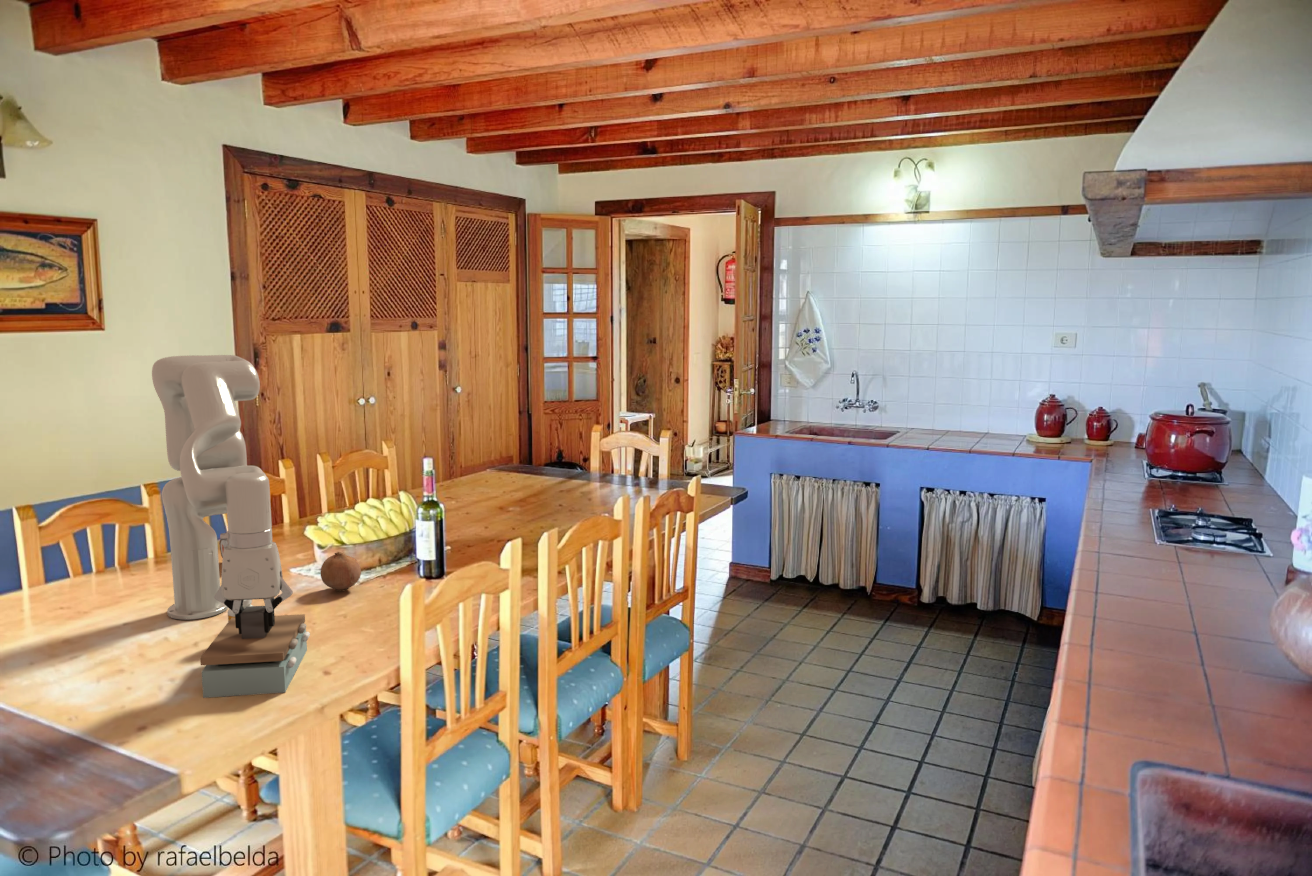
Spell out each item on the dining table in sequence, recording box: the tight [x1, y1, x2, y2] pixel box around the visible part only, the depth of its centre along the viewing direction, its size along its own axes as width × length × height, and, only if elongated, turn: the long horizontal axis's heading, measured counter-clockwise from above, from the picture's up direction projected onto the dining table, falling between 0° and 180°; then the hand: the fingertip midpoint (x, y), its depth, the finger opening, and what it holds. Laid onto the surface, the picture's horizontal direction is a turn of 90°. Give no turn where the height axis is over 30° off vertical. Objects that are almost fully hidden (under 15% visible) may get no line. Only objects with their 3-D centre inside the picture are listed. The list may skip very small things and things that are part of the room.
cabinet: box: [201, 628, 311, 699], centre depth 169 cm, size 20×15×5 cm
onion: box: [320, 551, 362, 592], centre depth 217 cm, size 10×9×10 cm
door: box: [199, 605, 308, 666], centre depth 168 cm, size 20×15×6 cm
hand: (255, 629), depth 168 cm, fingers closed on door, 4 cm apart
